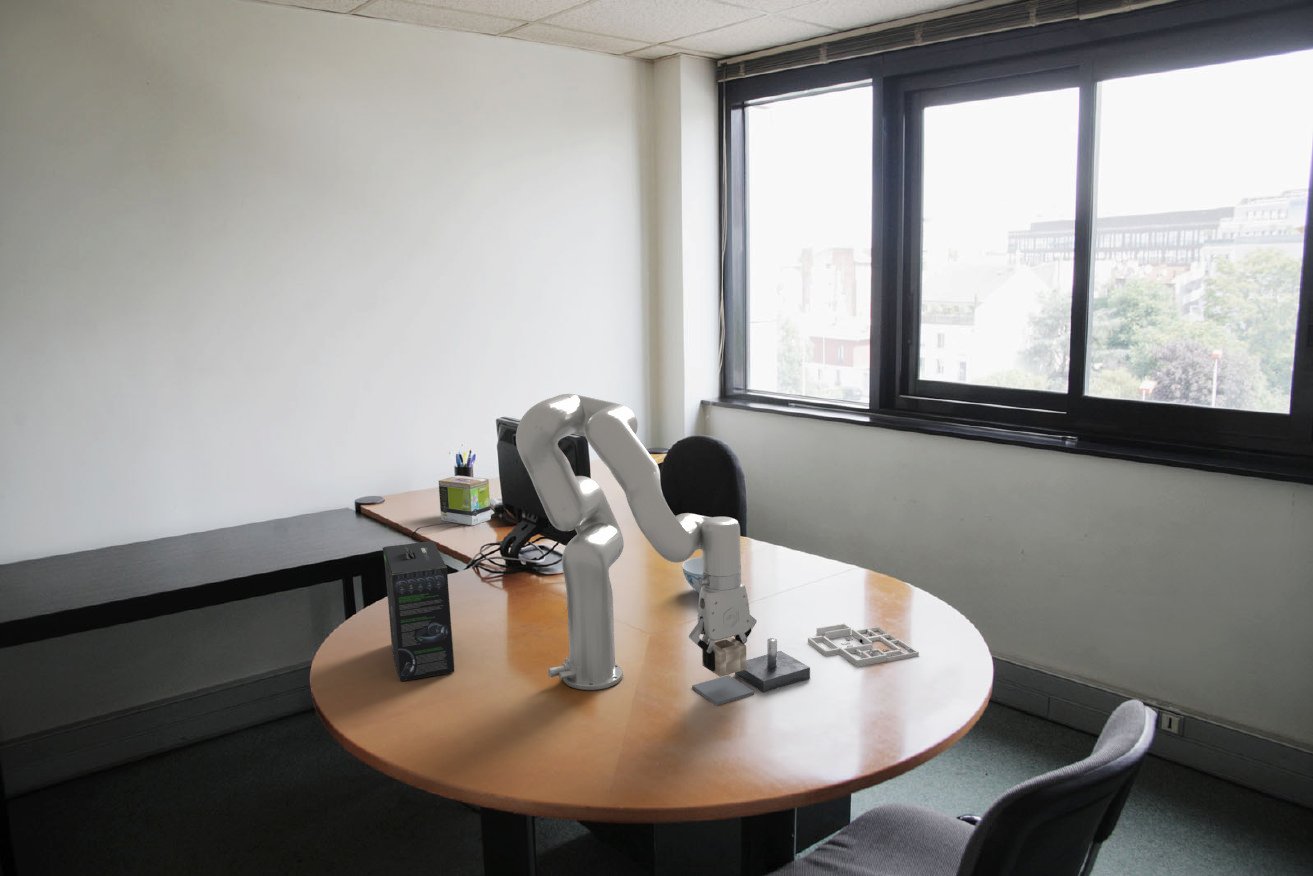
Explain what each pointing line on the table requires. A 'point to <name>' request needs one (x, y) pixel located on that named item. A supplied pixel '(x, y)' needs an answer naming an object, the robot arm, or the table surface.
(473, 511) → the tea box
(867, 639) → the floor plan model
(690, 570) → the chinaware
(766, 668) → the post stand
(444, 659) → the headset box
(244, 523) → the table surface
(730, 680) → the mat
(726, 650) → the collar
